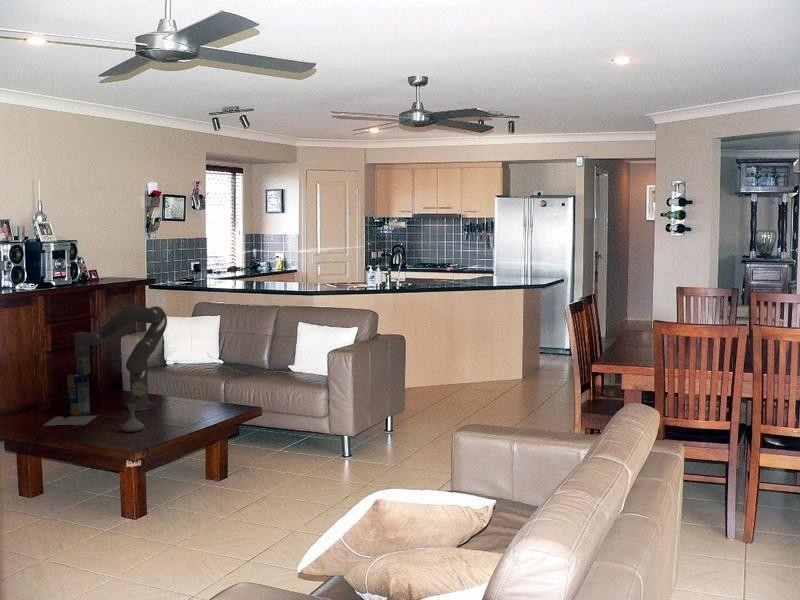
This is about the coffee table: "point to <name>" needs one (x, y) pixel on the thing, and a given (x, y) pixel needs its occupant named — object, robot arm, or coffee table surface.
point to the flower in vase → (133, 423)
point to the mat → (70, 420)
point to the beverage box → (78, 394)
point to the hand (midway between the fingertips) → (83, 386)
